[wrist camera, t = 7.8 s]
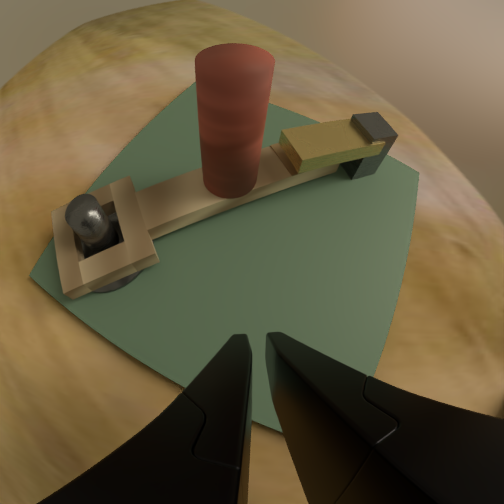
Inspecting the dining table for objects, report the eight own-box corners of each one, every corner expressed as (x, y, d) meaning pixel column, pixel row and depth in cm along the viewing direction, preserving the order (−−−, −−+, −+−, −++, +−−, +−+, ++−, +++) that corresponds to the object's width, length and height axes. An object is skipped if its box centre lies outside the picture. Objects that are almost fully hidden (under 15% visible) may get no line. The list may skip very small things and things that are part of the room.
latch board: (336, 449, 13) (340, 451, 13) (33, 278, 16) (29, 275, 15) (416, 176, 22) (419, 172, 21) (196, 86, 24) (195, 81, 24)
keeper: (354, 155, 22) (376, 111, 17) (372, 179, 21) (399, 136, 17) (271, 176, 20) (282, 123, 16) (287, 204, 19) (304, 154, 15)
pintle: (120, 315, 15) (87, 292, 11) (52, 266, 16) (16, 235, 12) (175, 228, 18) (162, 184, 14) (104, 193, 19) (82, 150, 15)
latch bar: (73, 299, 14) (-34, 221, 6) (59, 220, 16) (-12, 125, 8) (348, 187, 19) (405, 80, 11) (304, 132, 21) (333, 28, 13)
